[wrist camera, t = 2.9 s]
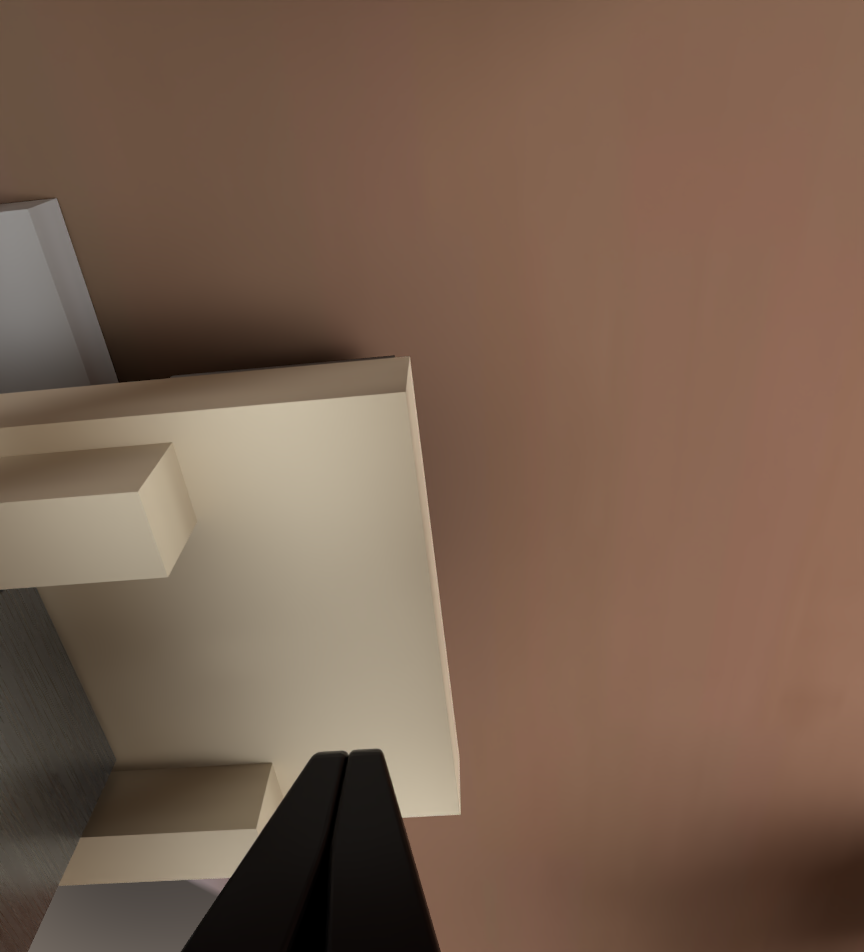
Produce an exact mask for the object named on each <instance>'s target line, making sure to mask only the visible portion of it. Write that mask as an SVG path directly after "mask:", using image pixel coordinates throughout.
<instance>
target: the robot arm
mask: <svg viewBox="0 0 864 952" xmlns="http://www.w3.org/2000/svg"><path fill="white" fill-rule="evenodd" d="M181 952H441V951H440V948H439V944H438V941H437V937H436V934H435V930H434V927H433V923H432V920H431V916H430V913H429V909H428V906H427V902H426V899H425V895H424V892H423V888H422V885H421V882H420V878H419V875H418V871H417V868H416V864H415V861H414V857H413V854H412V850H411V847H410V843H409V840H408V836H407V833H406V829H405V826H404V822H403V819H402V815H401V812H400V808H399V805H398V802H397V798H396V795H395V791H394V788H393V784H392V781H391V777H390V774H389V770H388V767H387V763H386V760H385V756H384V753H383V751H382V750H381V749H378V748H374V749H357V750H352V751H351V752H350V753H349V754H348V753H347V752H346V751H343V750H340V751H323V752H317V753H316V754H314V755H313V756H312V757H311V758H310V760H309V761H308V763H307V764H306V766H305V767H304V769H303V770H302V771H301V773H300V774H299V776H298V777H297V779H296V780H295V782H294V783H293V785H292V786H291V788H290V789H289V791H288V792H287V794H286V795H285V797H284V798H283V800H282V801H281V803H280V804H279V806H278V807H277V809H276V810H275V812H274V813H273V815H272V816H271V818H270V819H269V821H268V822H267V824H266V825H265V827H264V828H263V830H262V831H261V833H260V834H259V836H258V837H257V839H256V840H255V842H254V843H253V845H252V846H251V848H250V849H249V851H248V852H247V854H246V855H245V857H244V858H243V860H242V861H241V863H240V864H239V866H238V867H237V869H236V870H235V872H234V873H233V875H232V876H231V878H230V879H229V881H228V882H227V884H226V885H225V887H224V888H223V890H222V891H221V893H220V894H219V896H218V897H217V899H216V900H215V902H214V903H213V905H212V906H211V908H210V909H209V911H208V912H207V914H206V915H205V917H204V918H203V919H202V921H201V922H200V924H199V925H198V927H197V928H196V930H195V931H194V933H193V935H192V936H191V937H190V939H189V940H188V942H187V943H186V945H185V946H184V948H183V949H182V951H181Z"/></svg>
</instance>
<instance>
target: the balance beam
mask: <svg viewBox="0 0 864 952" xmlns="http://www.w3.org/2000/svg"><path fill="white" fill-rule="evenodd" d="M30 587H36V588H37V590H38V593H39V595H40V597H41V599H42V601H43V603H44V605H45V608H46V610H47V612H48V614H49V616H50V618H51V620H52V623H53V625H54V627H55V629H56V631H57V633H58V635H59V638H60V640H61V642H62V644H63V646H64V648H65V650H66V653H67V655H68V657H69V659H70V661H71V663H72V665H73V668H74V670H75V672H76V674H77V676H78V678H79V680H80V683H81V685H82V687H83V689H84V691H85V693H86V695H87V698H88V700H89V702H90V704H91V706H92V708H93V710H94V713H95V715H96V717H97V719H98V721H99V723H100V725H101V728H102V730H103V732H104V734H105V736H106V738H107V740H108V743H109V745H110V747H111V749H112V751H113V753H114V755H115V758H116V762H115V764H114V767H113V769H112V771H111V773H110V775H109V777H108V779H107V782H106V784H105V786H104V788H103V790H102V792H101V795H100V797H99V799H98V801H97V803H96V805H95V808H94V810H93V812H92V814H91V816H90V818H89V820H88V823H87V825H86V827H85V829H84V831H83V833H82V836H81V838H80V840H79V842H78V844H77V846H76V849H75V851H74V853H73V855H72V857H71V859H70V861H69V864H68V866H67V868H66V870H65V872H64V874H63V877H62V879H61V881H60V883H59V885H58V886H64V885H84V884H107V883H127V882H147V881H169V880H191V879H212V878H231V876H232V875H233V873H234V872H235V870H236V869H237V867H238V866H239V864H240V863H241V861H242V860H243V858H244V857H245V855H246V854H247V852H248V851H249V849H250V848H251V846H252V845H253V843H254V842H255V840H256V839H257V837H258V836H259V834H260V833H261V831H262V830H263V828H264V827H265V825H266V824H267V822H268V821H269V819H270V818H271V816H272V815H273V813H274V812H275V810H276V809H277V807H278V806H279V804H280V803H281V801H282V800H283V798H284V797H285V795H286V794H287V792H288V791H289V789H290V788H291V786H292V785H293V783H294V782H295V780H296V779H297V777H298V776H299V774H300V773H301V771H302V770H303V769H304V767H305V766H306V764H307V763H308V761H309V760H310V758H311V757H312V756H313V755H314V754H316V753H317V752H323V751H340V750H343V751H346V752H347V753H348V754H349V753H350V752H351V751H352V750H357V749H374V748H378V749H381V750H382V751H383V753H384V756H385V760H386V763H387V767H388V770H389V774H390V777H391V781H392V784H393V788H394V791H395V795H396V798H397V802H398V805H399V808H400V812H401V815H402V818H403V817H423V816H442V815H461V810H460V762H459V750H458V742H457V734H456V726H455V718H454V710H453V702H452V694H451V685H450V677H449V669H448V661H447V653H446V645H445V637H444V629H443V621H442V613H441V605H440V597H439V589H438V580H437V572H436V564H435V556H434V548H433V540H432V532H431V524H430V516H429V508H428V500H427V492H426V483H425V475H424V467H423V459H422V451H421V443H420V435H419V427H418V419H417V411H416V403H415V395H414V387H413V378H412V370H411V362H410V356H407V357H396V358H395V355H394V356H383V357H372V358H361V359H350V360H339V361H328V362H318V363H307V364H296V365H285V366H274V367H263V368H252V369H242V370H231V371H220V372H209V373H198V374H187V375H176V376H171V377H170V378H167V379H156V380H145V381H134V382H123V383H119V382H118V379H117V376H116V373H115V370H114V367H113V364H112V361H111V358H110V355H109V352H108V349H107V346H106V343H105V340H104V337H103V334H102V331H101V329H100V326H99V323H98V320H97V317H96V314H95V311H94V308H93V305H92V302H91V299H90V296H89V293H88V290H87V287H86V284H85V281H84V278H83V275H82V272H81V269H80V266H79V263H78V260H77V257H76V254H75V251H74V248H73V246H72V243H71V240H70V237H69V234H68V231H67V228H66V225H65V222H64V219H63V216H62V213H61V210H60V207H59V204H58V201H57V198H53V199H44V200H35V201H26V202H16V203H7V204H0V590H3V589H16V588H30Z"/></svg>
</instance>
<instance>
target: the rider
mask: <svg viewBox="0 0 864 952" xmlns="http://www.w3.org/2000/svg"><path fill="white" fill-rule="evenodd" d="M115 762H116V758H115V755H114V753H113V751H112V749H111V747H110V745H109V743H108V740H107V738H106V736H105V734H104V732H103V730H102V728H101V725H100V723H99V721H98V719H97V717H96V715H95V713H94V710H93V708H92V706H91V704H90V702H89V700H88V698H87V695H86V693H85V691H84V689H83V687H82V685H81V683H80V680H79V678H78V676H77V674H76V672H75V670H74V668H73V665H72V663H71V661H70V659H69V657H68V655H67V653H66V650H65V648H64V646H63V644H62V642H61V640H60V638H59V635H58V633H57V631H56V629H55V627H54V625H53V623H52V620H51V618H50V616H49V614H48V612H47V610H46V608H45V605H44V603H43V601H42V599H41V597H40V595H39V593H38V590H37V588H36V587H30V588H16V589H3V590H0V952H28V950H29V948H30V945H31V944H32V941H33V939H34V937H35V935H36V933H37V931H38V928H39V926H40V924H41V922H42V920H43V918H44V915H45V913H46V911H47V909H48V907H49V905H50V903H51V900H52V898H53V896H54V894H55V892H56V889H57V887H58V885H59V883H60V881H61V879H62V877H63V874H64V872H65V870H66V868H67V866H68V864H69V861H70V859H71V857H72V855H73V853H74V851H75V849H76V846H77V844H78V842H79V840H80V838H81V836H82V833H83V831H84V829H85V827H86V825H87V823H88V820H89V818H90V816H91V814H92V812H93V810H94V808H95V805H96V803H97V801H98V799H99V797H100V795H101V792H102V790H103V788H104V786H105V784H106V782H107V779H108V777H109V775H110V773H111V771H112V769H113V767H114V764H115Z"/></svg>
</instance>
